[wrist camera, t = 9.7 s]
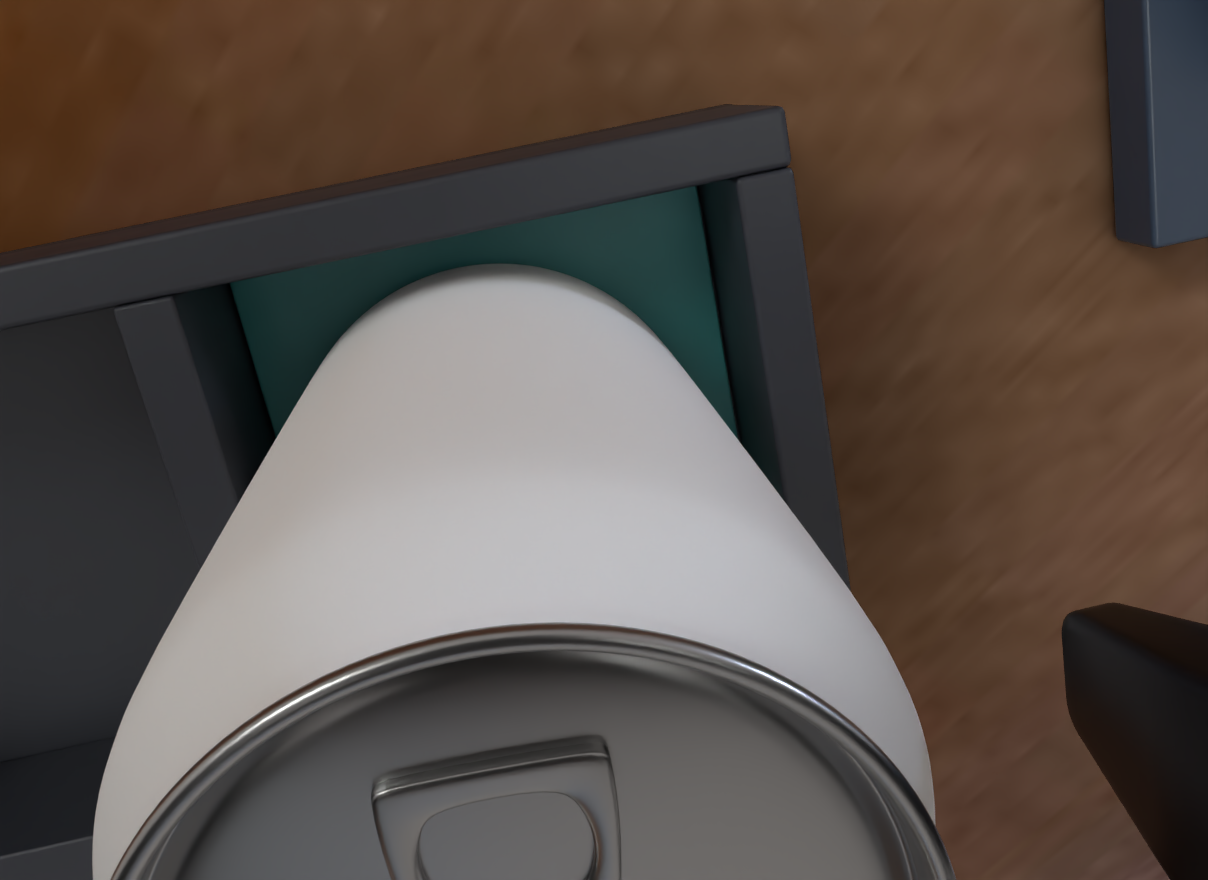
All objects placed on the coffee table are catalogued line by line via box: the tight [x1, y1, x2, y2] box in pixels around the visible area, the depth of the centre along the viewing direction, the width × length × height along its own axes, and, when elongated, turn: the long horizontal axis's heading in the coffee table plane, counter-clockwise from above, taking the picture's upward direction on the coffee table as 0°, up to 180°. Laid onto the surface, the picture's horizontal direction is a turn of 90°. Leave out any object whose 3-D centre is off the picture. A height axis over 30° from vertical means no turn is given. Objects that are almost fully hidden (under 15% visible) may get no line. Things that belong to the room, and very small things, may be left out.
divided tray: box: [0, 104, 851, 880], centre depth 17 cm, size 9×17×4 cm, turn 101°
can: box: [92, 264, 956, 880], centre depth 13 cm, size 6×6×12 cm
